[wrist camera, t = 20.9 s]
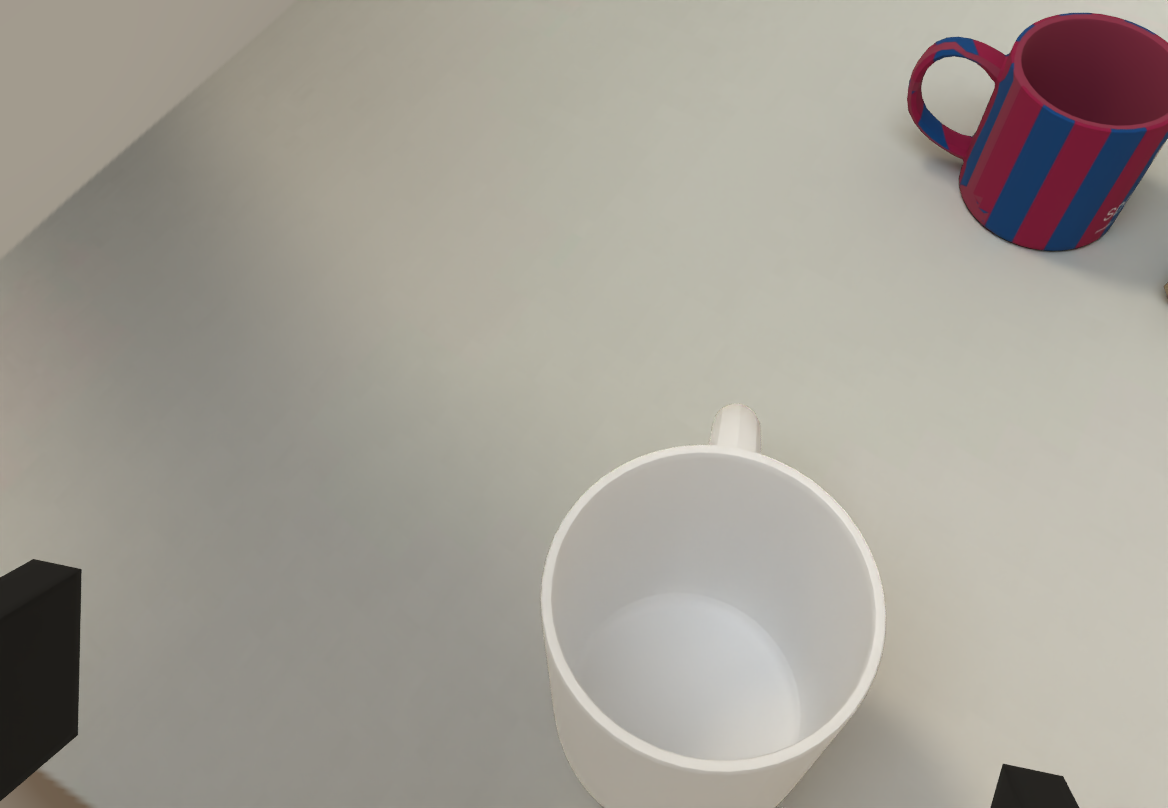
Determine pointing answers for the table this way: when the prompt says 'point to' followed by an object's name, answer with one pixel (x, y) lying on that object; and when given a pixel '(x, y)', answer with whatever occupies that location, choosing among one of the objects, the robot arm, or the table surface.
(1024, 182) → the cup
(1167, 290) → the decorative object
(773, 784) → the mug
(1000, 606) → the table surface
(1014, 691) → the table surface
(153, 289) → the table surface
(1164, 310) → the table surface
